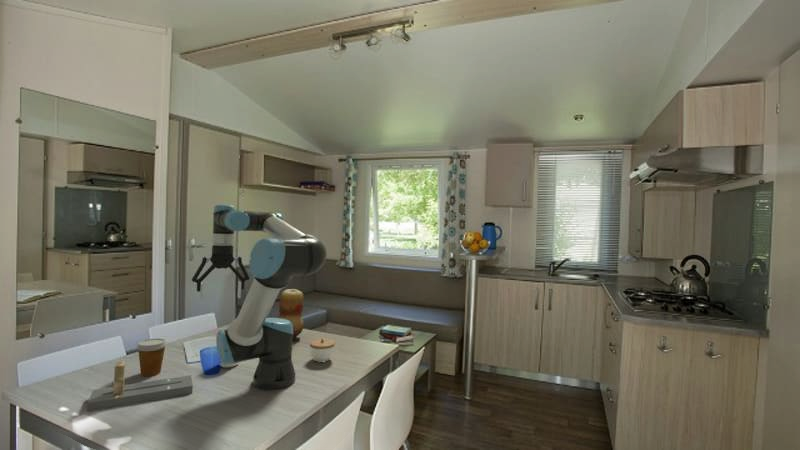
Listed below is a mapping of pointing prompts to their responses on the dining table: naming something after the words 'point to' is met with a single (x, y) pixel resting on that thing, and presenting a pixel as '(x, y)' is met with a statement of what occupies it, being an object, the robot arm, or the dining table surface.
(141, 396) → the fader console
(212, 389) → the dining table surface
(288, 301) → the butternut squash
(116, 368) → the beige tall block
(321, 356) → the lidded jar
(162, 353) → the disposable coffee cup
